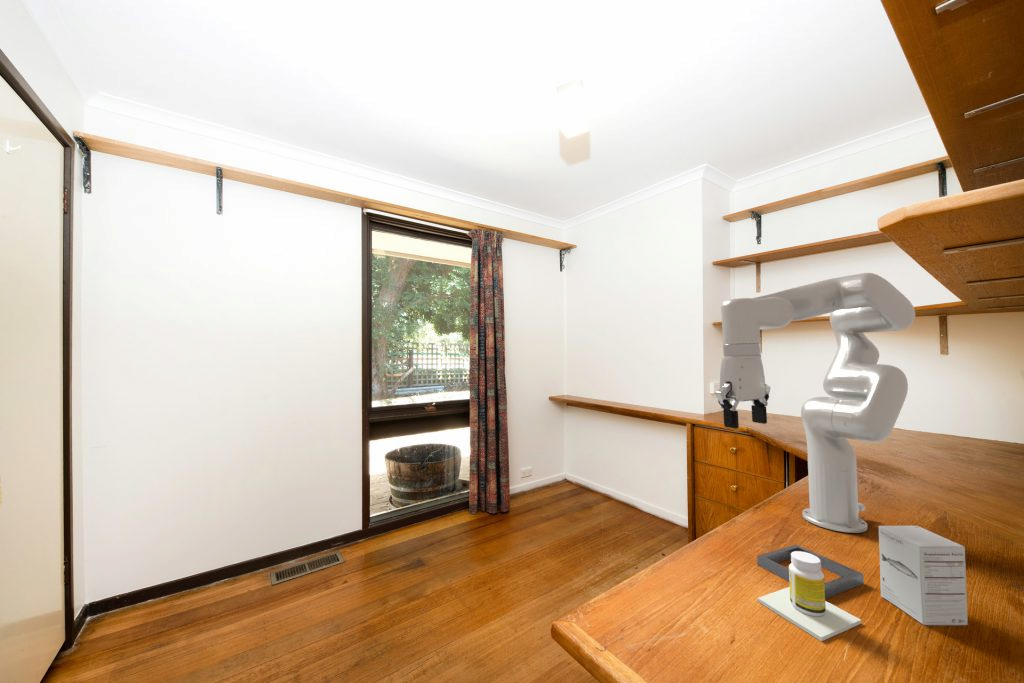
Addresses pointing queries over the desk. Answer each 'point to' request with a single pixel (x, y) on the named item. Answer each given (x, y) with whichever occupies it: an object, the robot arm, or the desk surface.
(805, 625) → the mat
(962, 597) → the supplement box
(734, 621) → the desk surface
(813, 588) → the supplement bottle
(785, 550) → the frame
